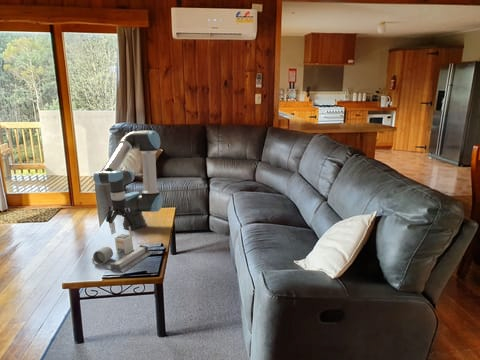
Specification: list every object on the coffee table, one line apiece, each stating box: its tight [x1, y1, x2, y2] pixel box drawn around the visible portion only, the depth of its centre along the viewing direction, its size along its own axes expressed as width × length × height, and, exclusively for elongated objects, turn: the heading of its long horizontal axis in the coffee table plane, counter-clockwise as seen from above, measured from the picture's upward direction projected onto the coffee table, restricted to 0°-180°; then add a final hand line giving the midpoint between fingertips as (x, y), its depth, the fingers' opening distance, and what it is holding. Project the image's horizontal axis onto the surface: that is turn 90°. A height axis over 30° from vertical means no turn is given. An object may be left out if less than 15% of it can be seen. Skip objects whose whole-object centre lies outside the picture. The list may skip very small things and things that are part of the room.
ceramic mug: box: [91, 246, 114, 266], centre depth 188 cm, size 11×8×8 cm
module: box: [114, 233, 134, 255], centre depth 198 cm, size 6×7×10 cm
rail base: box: [105, 244, 154, 273], centre depth 188 cm, size 24×12×4 cm, turn 156°
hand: (122, 234), depth 197 cm, fingers open, 13 cm apart
